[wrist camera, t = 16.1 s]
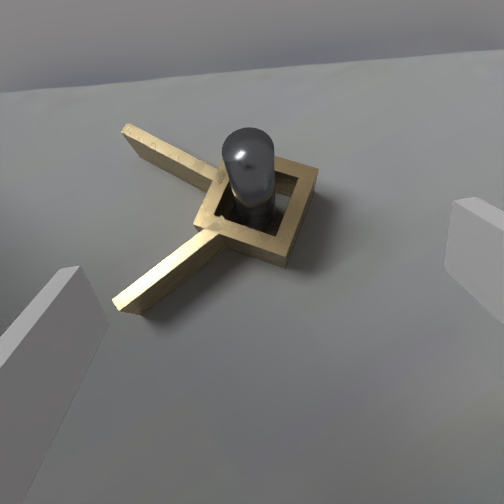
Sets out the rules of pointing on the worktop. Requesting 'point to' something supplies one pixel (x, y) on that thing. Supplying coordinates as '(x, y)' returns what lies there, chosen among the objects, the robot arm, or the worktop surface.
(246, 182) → the hinge pin
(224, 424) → the worktop surface
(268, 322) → the worktop surface
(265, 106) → the worktop surface
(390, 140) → the worktop surface
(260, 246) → the tan piece
